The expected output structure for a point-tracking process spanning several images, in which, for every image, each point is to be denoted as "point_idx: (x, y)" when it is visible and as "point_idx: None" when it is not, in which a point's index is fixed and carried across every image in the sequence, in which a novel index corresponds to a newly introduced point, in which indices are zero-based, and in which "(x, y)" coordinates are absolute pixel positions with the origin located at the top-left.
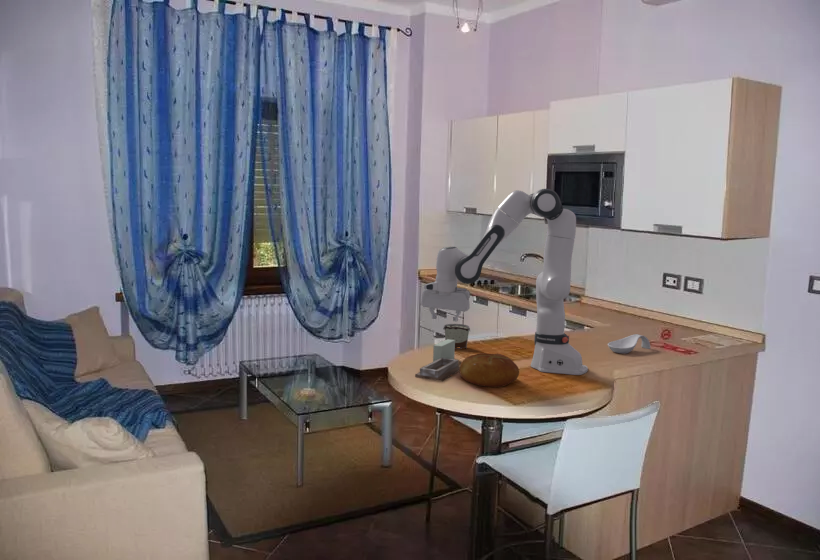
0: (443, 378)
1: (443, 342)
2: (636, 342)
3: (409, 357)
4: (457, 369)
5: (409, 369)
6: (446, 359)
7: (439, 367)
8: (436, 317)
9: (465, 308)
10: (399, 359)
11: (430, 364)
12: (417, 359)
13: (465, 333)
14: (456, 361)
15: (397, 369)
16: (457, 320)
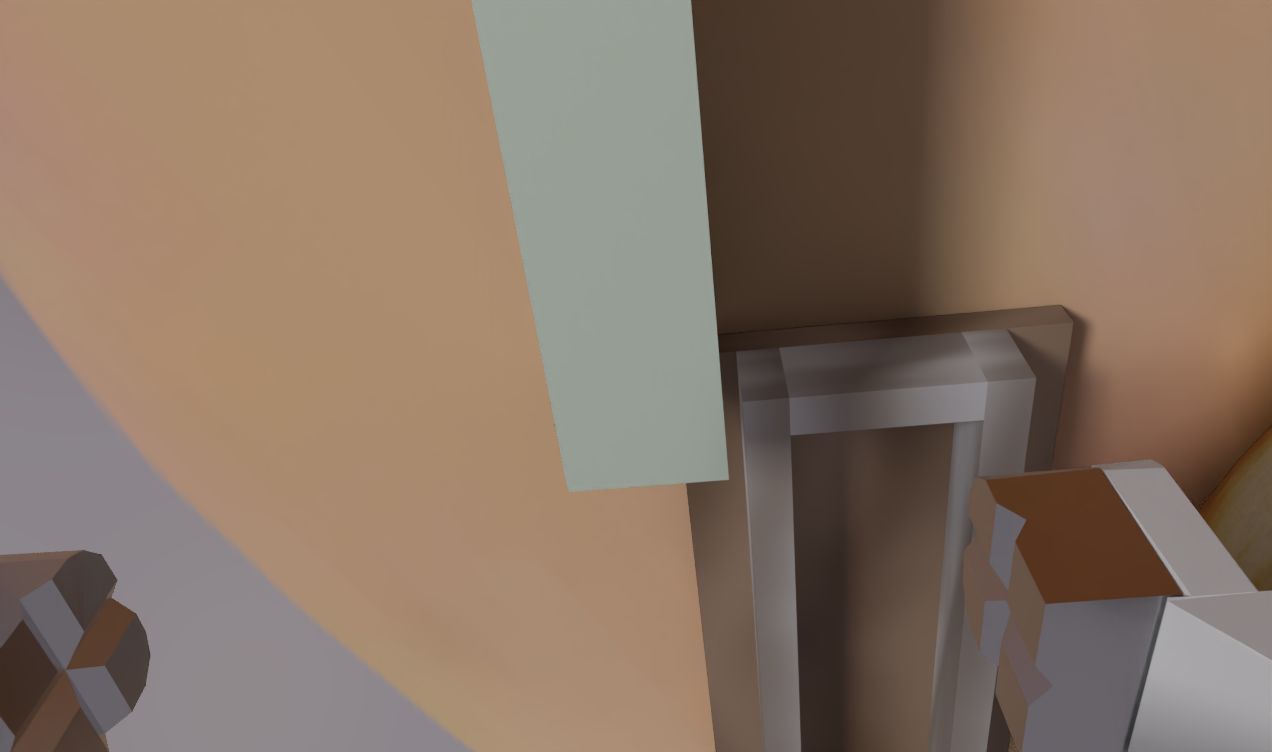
0: (1005, 744)
1: (575, 174)
2: None
3: (66, 179)
4: (1046, 464)
5: (513, 621)
6: (847, 427)
7: (805, 506)
8: (75, 577)
9: None
10: (83, 355)
11: (791, 712)
12: (241, 210)
13: None
14: (1025, 442)
15: (421, 674)
16: (1155, 489)
